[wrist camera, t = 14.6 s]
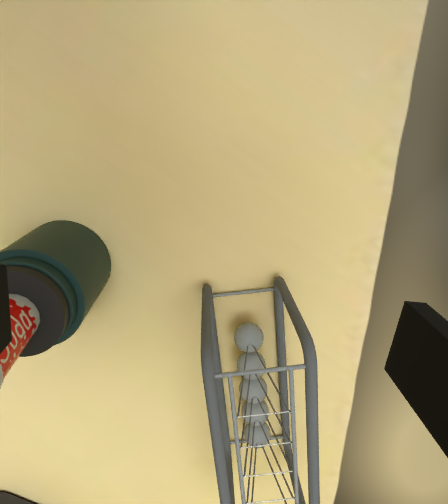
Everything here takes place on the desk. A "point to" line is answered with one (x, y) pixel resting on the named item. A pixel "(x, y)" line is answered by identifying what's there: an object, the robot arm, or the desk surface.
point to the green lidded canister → (57, 278)
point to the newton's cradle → (259, 396)
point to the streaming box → (11, 499)
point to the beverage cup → (18, 331)
